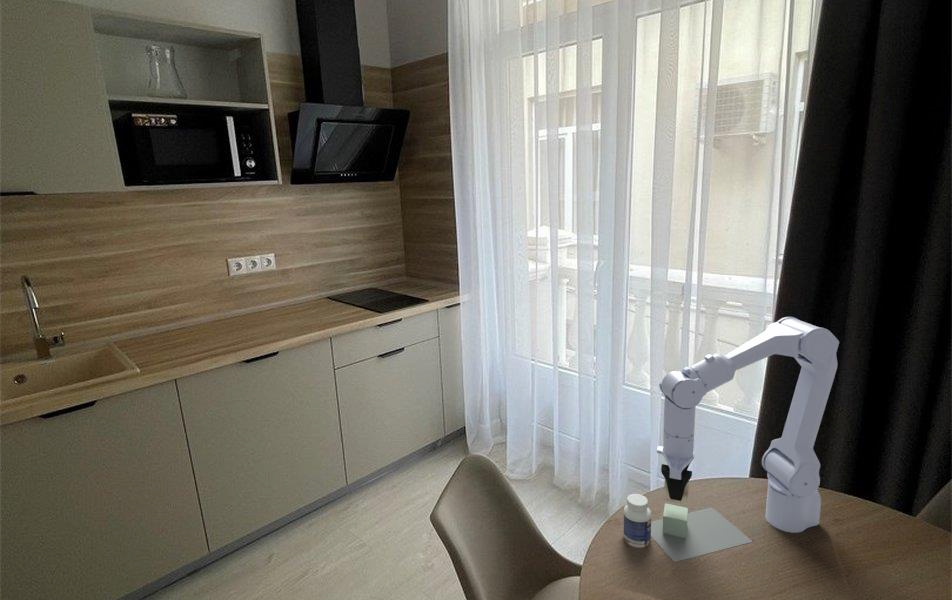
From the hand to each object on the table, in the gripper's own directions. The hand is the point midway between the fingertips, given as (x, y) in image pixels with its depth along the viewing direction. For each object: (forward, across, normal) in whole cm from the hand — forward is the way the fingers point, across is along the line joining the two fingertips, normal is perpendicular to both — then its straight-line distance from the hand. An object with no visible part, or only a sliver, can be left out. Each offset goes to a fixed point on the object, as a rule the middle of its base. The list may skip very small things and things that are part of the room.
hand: (676, 492), depth 100 cm
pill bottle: (+10, +6, -7) cm, 13 cm away
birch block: (+1, 0, 0) cm, 1 cm away
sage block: (+9, 0, 0) cm, 9 cm away
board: (+9, 0, +4) cm, 10 cm away
